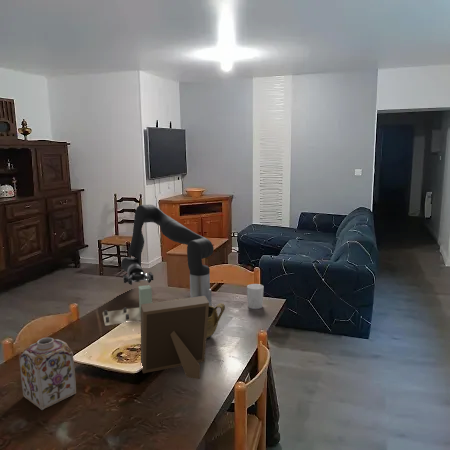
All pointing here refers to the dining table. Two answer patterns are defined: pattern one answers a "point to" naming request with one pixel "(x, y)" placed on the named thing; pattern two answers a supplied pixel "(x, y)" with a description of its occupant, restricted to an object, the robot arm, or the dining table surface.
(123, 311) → the peg board
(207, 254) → the robot arm
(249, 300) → the white cup
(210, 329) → the ceramic bowl
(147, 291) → the green block
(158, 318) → the photo frame
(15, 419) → the dining table surface
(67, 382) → the decorative jar
